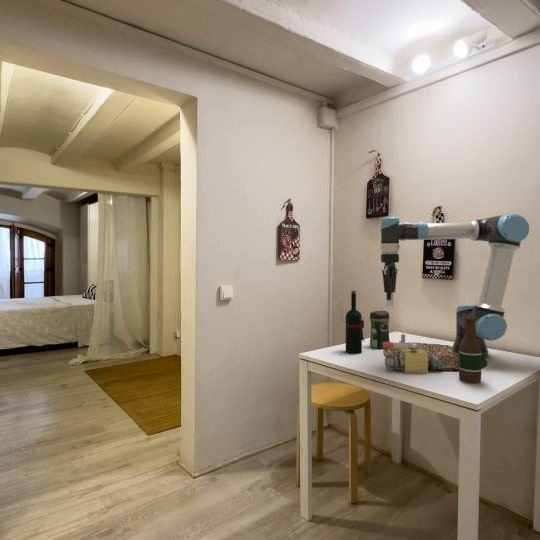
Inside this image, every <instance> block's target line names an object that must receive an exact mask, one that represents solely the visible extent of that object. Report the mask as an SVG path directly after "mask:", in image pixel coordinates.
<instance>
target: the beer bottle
mask: <svg viewBox="0 0 540 540" xmlns="http://www.w3.org/2000/svg"><path fill="white" fill-rule="evenodd" d="M465 320H466V326H465V336H464V338H463V340H462V341H461V343H460V346H459V356H458V378H459V381H461V382H462V383H463V382H464V383H466V384H479V383H481V382H482V359H483V358H482V352H481V346H480V344H479V342H478V341H477V338H476V327H475V321H476V318H475V317H466V318H465Z"/></svg>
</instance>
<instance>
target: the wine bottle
mask: <svg viewBox="0 0 540 540" xmlns="http://www.w3.org/2000/svg"><path fill="white" fill-rule="evenodd" d="M350 295H351V297H350V300H351V301H350V303H351V306H350V310H348V311H347V313H346V314H345V353H347V354H351V355H360V354H362V352H363V342H364V343H366V342H365V338H364V332H363V329H364V327H365V324H364V323H365V321H364V320H363V318H362V313H361V312H360V311H358V309H357V290H351V294H350Z"/></svg>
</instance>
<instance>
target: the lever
mask: <svg viewBox="0 0 540 540" xmlns="http://www.w3.org/2000/svg"><path fill="white" fill-rule="evenodd" d="M394 348H397V349H401V348H408V349H420V343H418V342H407V343H406V342H405V343H399V342H393V341H390V342H383V348H382V349H394Z"/></svg>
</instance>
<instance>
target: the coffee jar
mask: <svg viewBox="0 0 540 540" xmlns="http://www.w3.org/2000/svg"><path fill="white" fill-rule="evenodd" d="M369 321H370V339H369V347H371V348H372V349H384V348H383V342H391V341H390V331H389V330H390V329H389V326H390V325H389V323H390V313H389V311H387V310H375V311H374V310H373V311H371V312H370V313H369Z"/></svg>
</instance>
